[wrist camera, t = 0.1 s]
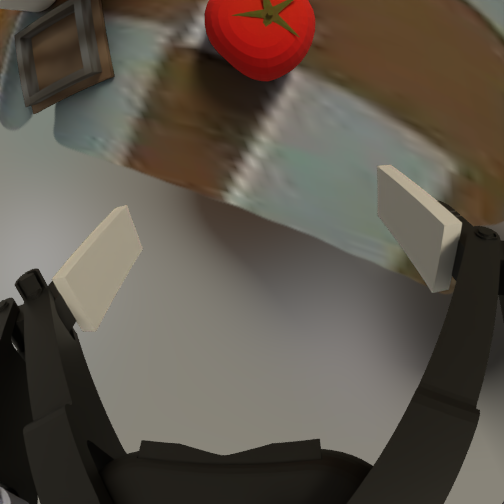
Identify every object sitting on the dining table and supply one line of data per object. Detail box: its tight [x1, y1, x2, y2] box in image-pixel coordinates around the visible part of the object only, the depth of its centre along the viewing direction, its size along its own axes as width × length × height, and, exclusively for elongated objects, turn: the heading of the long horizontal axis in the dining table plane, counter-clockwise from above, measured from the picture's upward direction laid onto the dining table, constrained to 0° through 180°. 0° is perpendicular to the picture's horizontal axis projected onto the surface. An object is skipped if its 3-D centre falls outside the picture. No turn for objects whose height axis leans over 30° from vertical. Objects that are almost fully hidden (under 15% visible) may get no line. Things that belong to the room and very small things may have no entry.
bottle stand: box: [15, 0, 115, 114], centre depth 30 cm, size 16×16×4 cm
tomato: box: [205, 0, 315, 81], centre depth 27 cm, size 12×14×11 cm
